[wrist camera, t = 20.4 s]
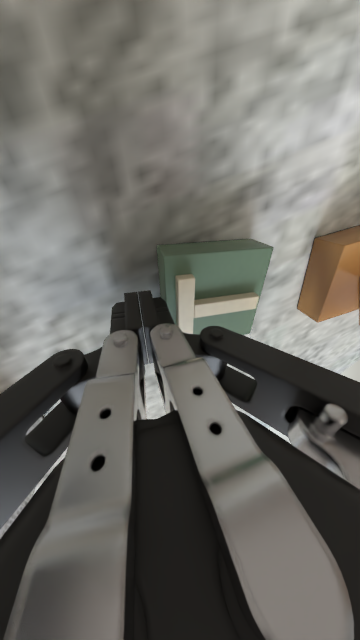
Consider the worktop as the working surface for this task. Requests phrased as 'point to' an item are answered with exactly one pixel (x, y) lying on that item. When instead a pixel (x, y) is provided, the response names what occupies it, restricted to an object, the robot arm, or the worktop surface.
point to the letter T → (213, 283)
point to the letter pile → (332, 276)
